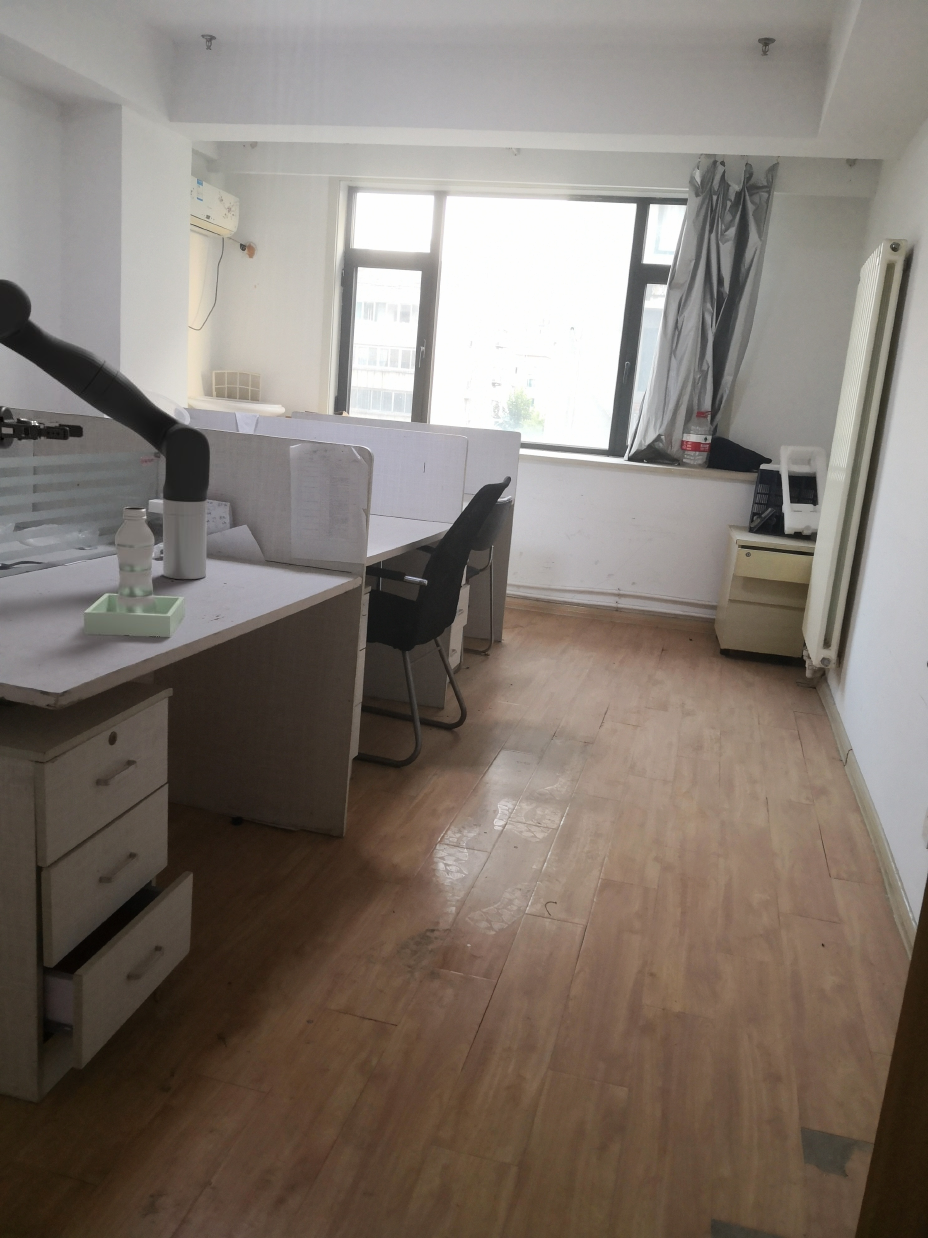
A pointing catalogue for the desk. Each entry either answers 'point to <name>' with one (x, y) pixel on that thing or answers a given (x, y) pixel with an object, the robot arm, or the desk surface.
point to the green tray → (134, 618)
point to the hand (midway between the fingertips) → (75, 432)
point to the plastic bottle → (135, 563)
